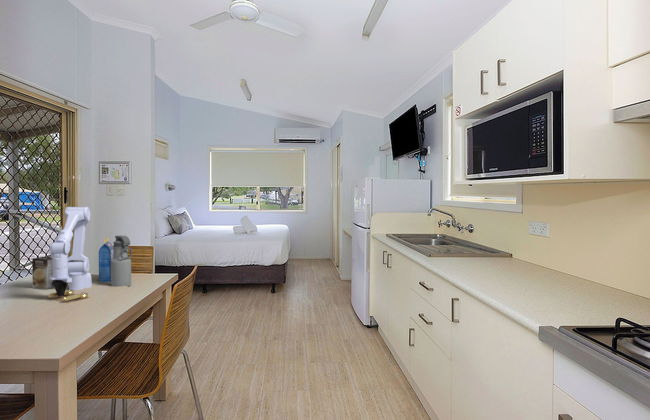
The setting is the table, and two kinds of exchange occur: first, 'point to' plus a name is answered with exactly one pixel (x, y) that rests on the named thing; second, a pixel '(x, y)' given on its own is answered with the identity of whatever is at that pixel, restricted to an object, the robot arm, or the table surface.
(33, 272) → the coffee box
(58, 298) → the base
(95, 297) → the table surface
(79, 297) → the lever
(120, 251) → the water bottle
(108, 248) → the blue plastic bottle
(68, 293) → the lever
